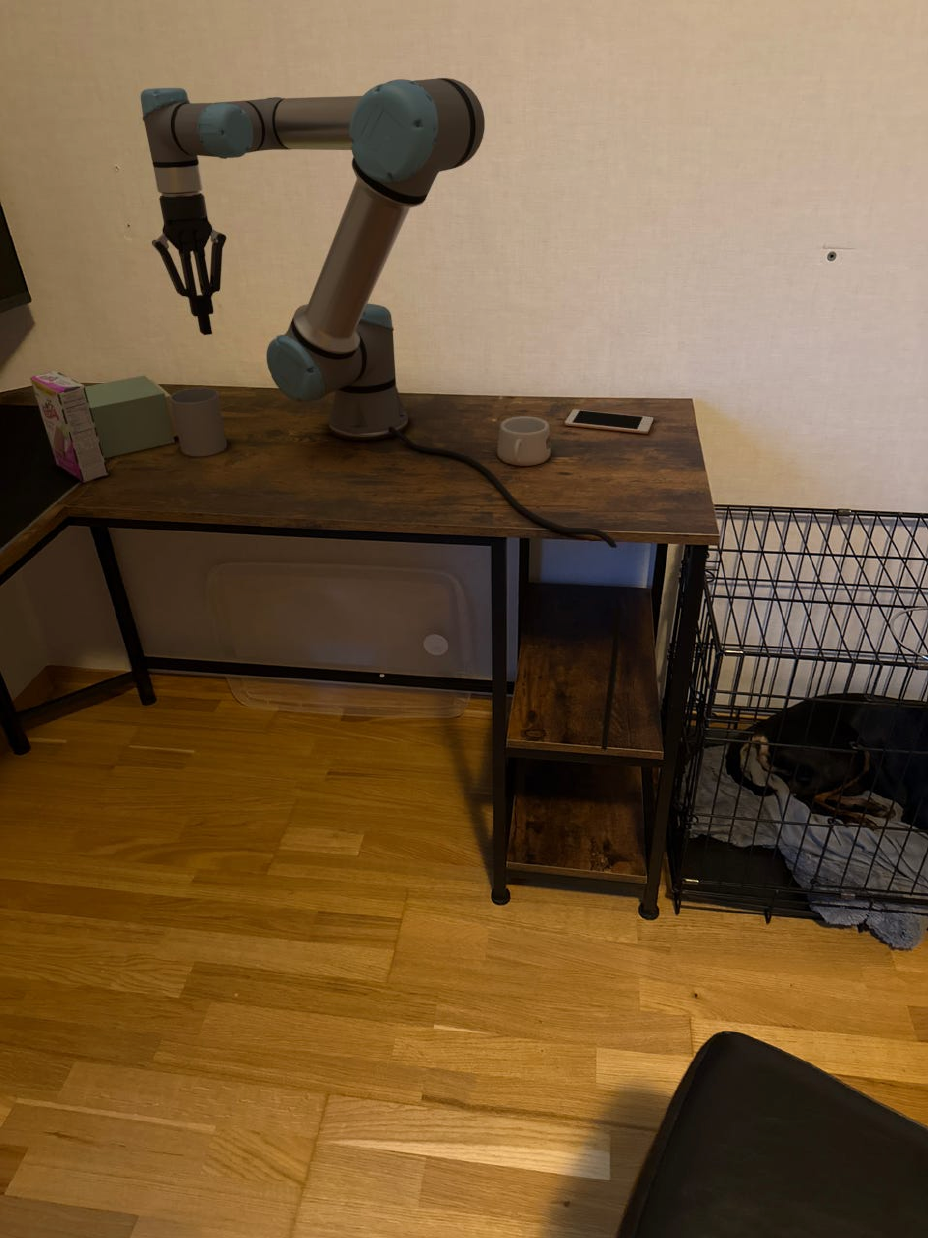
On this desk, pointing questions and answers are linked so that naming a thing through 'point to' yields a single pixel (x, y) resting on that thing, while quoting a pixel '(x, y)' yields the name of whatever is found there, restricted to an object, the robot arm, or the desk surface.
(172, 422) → the drawer
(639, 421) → the cell phone
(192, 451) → the cup
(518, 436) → the mug
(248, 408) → the desk surface
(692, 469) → the desk surface
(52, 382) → the candy bar box
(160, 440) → the cabinet
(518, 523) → the desk surface
